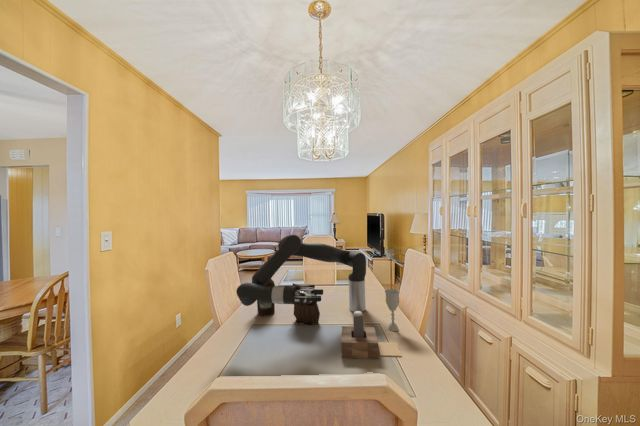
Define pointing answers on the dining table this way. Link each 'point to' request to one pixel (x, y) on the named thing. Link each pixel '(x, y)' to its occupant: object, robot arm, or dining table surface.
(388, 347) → the pad
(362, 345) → the wooden square socket block
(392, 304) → the chalice
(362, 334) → the plug
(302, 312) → the brown owl figurine
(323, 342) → the dining table surface
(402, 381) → the dining table surface
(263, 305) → the olive oil
